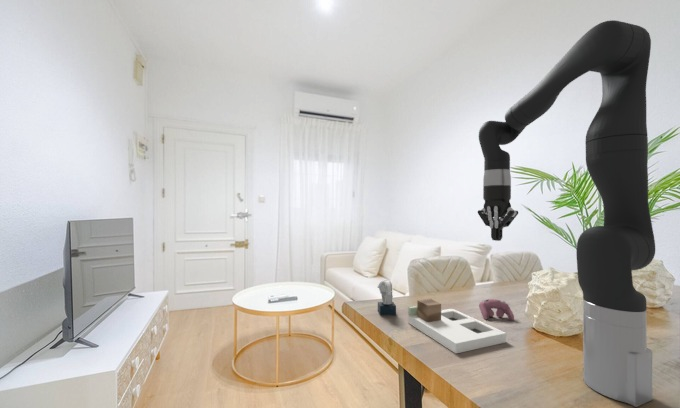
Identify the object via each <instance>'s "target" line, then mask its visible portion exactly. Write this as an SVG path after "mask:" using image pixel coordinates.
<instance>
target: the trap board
mask: <svg viewBox="0 0 680 408" xmlns="http://www.w3.org/2000/svg"><path fill="white" fill-rule="evenodd" d="M407 309H408V311H407V312H408V316H407V317H408V318H407V319H408V320H407V321H408V322H407V323H408V324H409V325H411V326H412V327H414V328H415V329H418V331H421V333H423V334H425V335H427V336H428V337H429V338H431V339H432V340H434V341H435V342H437V343H439V344H440V345H442V346H444V347H445V348H446V349H448V350H449V351H451V352H452V353H454V354H459V353H464V352H468V351H473V350H477V349H483V348H487V347H491V346H492V347H493V346H496V345H500V344H501V345H502V344H505V343H507V332H505V331H503V330H500V329H498V328H496V327H494V326H492V325H489V324H487V323H486V322H482V321H480V320H479V319H476V318H475V317H472V316H469V315H468V314H465V313H463V312H461V311H458V310H457V309H454V308H448V309H441V320H439V321H433V322H426V321H425V320H423V319H421V318H419V317H418V316H417V305H414V306H408V308H407Z"/></svg>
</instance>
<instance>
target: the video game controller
mask: <svg viewBox="0 0 680 408" xmlns="http://www.w3.org/2000/svg"><path fill="white" fill-rule="evenodd" d="M478 307H479V310H480V312H481V316H482V317H483V319H484V320H486V321H487V320H488V319H489V317H490V318H492V317H494V316H496V317H498V318H503V317H504V316H505V315H506V316H507V318H508V319H509V320H510V321H511V322H513V321H514V320H515V316H514V313H513V311H512V309H511V307H510V305H509V304H508V303H506V301H504V300H500V299H494V298H493V299H491V298H490V299H485V300H482V301H480V302H479V304H478ZM493 309H496V310H495V311H494V310H493Z"/></svg>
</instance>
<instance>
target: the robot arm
mask: <svg viewBox="0 0 680 408" xmlns="http://www.w3.org/2000/svg"><path fill="white" fill-rule="evenodd" d="M651 46H652V40H651V35H650V32H649V31H648V30H647V29H646V28H644V27H643V26H640V25H637V24H633V23H628V22H624V21H622V20H621V21H619V20H605V21H603V22H600V23H599V24H598V23H597V24H596V25H595V26H593V27H591V28H590V29H588V31H586V33H584V34H583V35H582V36H581V37H580V38H579V39H578V40H577V41H576V42H575V43H574V44H573V45H572V46H571V47H570V49H569V50H568V51H567V52H566V53H565V54H564V55H563V57H561V58H560V60H559V61H558V62H557V63H556V64H555V65H554V66H553V67H551V70H550V71H549V72H548V73H547V74H546V75H545V76H544V77H543V78H542V79H541V80H540V81H539V82H538V83H537V84H536V85H535V86H534V87H533V88H532V89H531V90H530V91H529V92H527V94H525V95H524V96H523V97H522V98H520V99H519V100H518V101H517V102H516V103H514V104H513V105H512V106H511V107H509V108H508V109H507V111H506V112H505V114H504V120H505V121H498V120H488V121H486V122H484V123H482V125H481V126H480V128H479V131H478V141H479V146H480V149H481V152H482V156H483V159H484V165H483V167H484V173H483V185H482V186H483V189H482V190H483V192H482V193H483V194H482V196H483V197H482V198H483V200H484V203H483V208H481V209H479V210H478V211H477V214H478V215H479V217H480V219H481V220H482V222H483V223H484V226H486V227H489V228H490V238H491V239H492V241H496V242H497V241H498V242H499V241H502V239H503V229H504V228H507V227H509V226H510V225H511V224H512V222H513V221H514V220H515V218H516V217H517V216H518V214H519V210H514V209H513V208H512V205H511V202H510V200H511V198H512V196H511V195H512V178H511V177H512V176H511V155H510V153H509V152H508V151H505V150H503V149H502V148H501V147H500V146H505V145H508V144H511V143H512V142H514V141H515V140H516V139H517V138H518V137H519V136H520V135H521V133H523V131H524V130H525V129H526V128H527V126H529V125H530V124H533V122H535V121H536V120H538V119H539V118H540V117H542V116H543V115H544V114H545V113H547V112H548V111H549V110H550V109H551V107H553V105H554V103H555V102H556V100H557V99H558V97H559V95H560V94H561V92H563V91H564V90H565V88H566V87H567V86H569V84H571V83H572V82H574V81H575V80H576V79H578V78H579V77H581V76H583V75H585V74H588V72H592V73H593V72H595V73H599V74H600V77H601V87H602V89H601V90H602V96H601V98H602V99H601V103H600V105H599V107H598V110H597V112H596V113H595V115H594V117H593V119H592V120H591V123H590V125H589V126H588V129H587V131H586V135H585V165H586V168H587V169H586V170H587V171H588V175H589V176H590V178H591V180H592V182H593V184H594V186H595V188H596V190H597V192H598V193H599V195H600V197H601V201H602V206H603V225H597V226H591V227H588V228H586V229H585V230H584V231H582V233H581V234H579V235H580V236H579V237H578V240H577V242H576V267H577V268H576V269H577V280H578V285H579V287H580V289H581V291H582V298H583V299H582V302H583V303H582V309H583V310H582V311H583V313H582V315H583V317H582V327H583V328H582V336H583V337H582V341H583V343H582V345H583V346H582V351H583V352H582V355H583V356H582V357H583V363H582V365H583V367H582V372H583V374H582V375H583V381H584V383H585V384H586V386H588V387H589V388H590V389H591V390H593V391H595V392H597V393H599V394H600V395H603V396H604V397H608V398H609V399H612V400H615V401H619V402H622V403H626V404H628V405H630V406H633V407H635V408H638V407H639V406H642V405H644V404H646V403H649V402H651V401H653V397H654V396H653V394H654V393H653V390H654V389H653V388H654V387H653V384H654V383H653V380H654V379H653V351H652V349H650V348H648V347H647V346H648V345H647V344H648V343H647V342H648V341H647V340H648V338H647V337H648V336H647V334H648V333H647V328H648V327H647V297H646V296H645V295H644V294H643V293H642V292H640V291H638V290H636V288H635V286H634V284H633V283H634V281H633V271H639V270H642V269H644V268H646V267H647V266H649V265H650V264H651V263H652V261H653V260H654V258H655V255H656V240H655V235H654V229H653V223H652V217H651V213H650V212H651V211H650V205H649V174H648V171H649V169H648V168H649V167H648V156H649V155H648V154H649V145H648V144H649V143H648V141H649V138H648V135H649V134H648V127H647V126H648V125H647V83H648V82H647V80H648V72H649V64H650V56H651V48H652V47H651Z"/></svg>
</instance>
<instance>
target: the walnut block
mask: <svg viewBox="0 0 680 408" xmlns="http://www.w3.org/2000/svg"><path fill="white" fill-rule="evenodd" d="M416 306H417V316H418V317H419V318H421V319H423V320H425V321H426V322H433V321H439V320H441V310H442V303H440V302H439V301H436V300H434V299H432V298H428V299H427V298H426V299H418V300H417V305H416Z"/></svg>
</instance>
